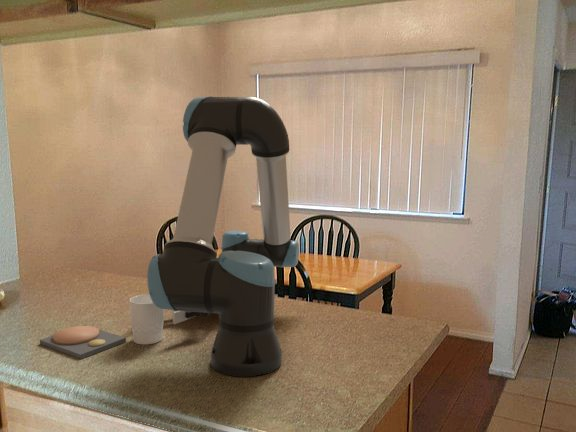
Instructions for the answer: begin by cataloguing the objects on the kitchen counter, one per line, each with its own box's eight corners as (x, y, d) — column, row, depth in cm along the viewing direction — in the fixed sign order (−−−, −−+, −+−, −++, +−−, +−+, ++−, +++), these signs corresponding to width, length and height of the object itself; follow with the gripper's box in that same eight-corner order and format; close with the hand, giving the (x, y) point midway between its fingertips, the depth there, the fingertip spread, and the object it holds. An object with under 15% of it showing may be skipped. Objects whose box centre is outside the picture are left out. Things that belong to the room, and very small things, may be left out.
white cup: (166, 332, 127) (165, 293, 125) (163, 345, 119) (162, 303, 117) (133, 334, 125) (131, 294, 124) (128, 346, 118) (127, 304, 116)
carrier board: (125, 341, 120) (125, 334, 120) (80, 359, 110) (80, 351, 110) (85, 329, 128) (85, 322, 128) (39, 343, 118) (39, 336, 118)
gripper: (248, 314, 135) (192, 338, 117) (179, 298, 148) (119, 317, 131) (248, 286, 134) (191, 306, 116) (179, 272, 147) (118, 289, 130)
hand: (153, 312), depth 123 cm, fingers open, 13 cm apart
